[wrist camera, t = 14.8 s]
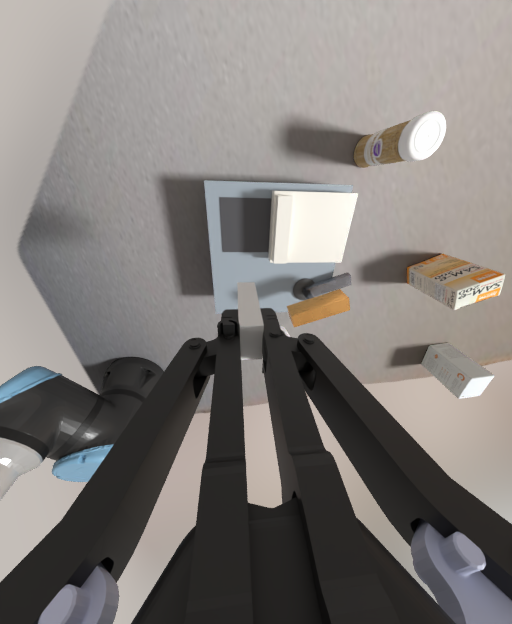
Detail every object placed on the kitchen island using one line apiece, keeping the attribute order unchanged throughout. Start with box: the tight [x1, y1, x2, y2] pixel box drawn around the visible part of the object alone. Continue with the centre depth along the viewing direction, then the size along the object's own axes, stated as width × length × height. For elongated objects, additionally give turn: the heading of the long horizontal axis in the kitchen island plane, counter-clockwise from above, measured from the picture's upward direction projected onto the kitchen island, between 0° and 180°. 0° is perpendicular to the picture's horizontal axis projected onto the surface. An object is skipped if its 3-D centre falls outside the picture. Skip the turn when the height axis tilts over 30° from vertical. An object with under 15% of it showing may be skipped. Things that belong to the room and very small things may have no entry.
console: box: [204, 180, 353, 314], centre depth 39 cm, size 22×22×8 cm
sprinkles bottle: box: [354, 111, 446, 168], centre depth 30 cm, size 5×5×13 cm
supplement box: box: [407, 254, 505, 310], centre depth 43 cm, size 8×5×13 cm, turn 112°
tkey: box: [287, 273, 351, 327], centre depth 35 cm, size 2×12×8 cm, turn 108°
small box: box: [421, 343, 494, 398], centre depth 59 cm, size 8×6×13 cm
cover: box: [268, 191, 358, 264], centre depth 31 cm, size 12×10×4 cm
